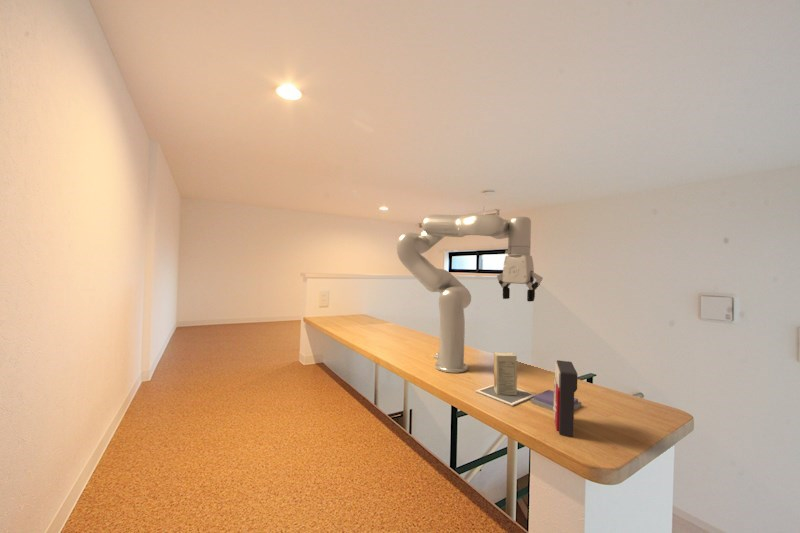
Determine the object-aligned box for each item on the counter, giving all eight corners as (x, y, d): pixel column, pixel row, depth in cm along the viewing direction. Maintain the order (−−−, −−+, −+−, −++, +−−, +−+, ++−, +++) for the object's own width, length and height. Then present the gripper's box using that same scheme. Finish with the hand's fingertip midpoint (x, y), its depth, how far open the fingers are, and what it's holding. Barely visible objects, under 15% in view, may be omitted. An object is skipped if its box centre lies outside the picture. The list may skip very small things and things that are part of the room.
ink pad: (530, 402, 95) (530, 395, 95) (547, 394, 101) (547, 388, 101) (565, 415, 87) (565, 407, 87) (581, 406, 93) (581, 399, 93)
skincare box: (513, 390, 103) (514, 352, 103) (517, 395, 99) (517, 355, 99) (492, 389, 104) (493, 351, 104) (495, 394, 100) (496, 354, 100)
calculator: (552, 415, 87) (553, 359, 87) (570, 418, 85) (571, 361, 85) (555, 434, 77) (557, 371, 77) (576, 438, 75) (577, 373, 75)
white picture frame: (475, 392, 102) (475, 390, 102) (500, 383, 110) (500, 382, 110) (512, 406, 92) (512, 404, 92) (536, 396, 100) (536, 394, 100)
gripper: (492, 252, 120) (491, 298, 120) (536, 250, 106) (535, 302, 106) (504, 253, 125) (503, 297, 124) (548, 251, 111) (546, 301, 111)
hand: (518, 299), depth 115 cm, fingers open, 9 cm apart
